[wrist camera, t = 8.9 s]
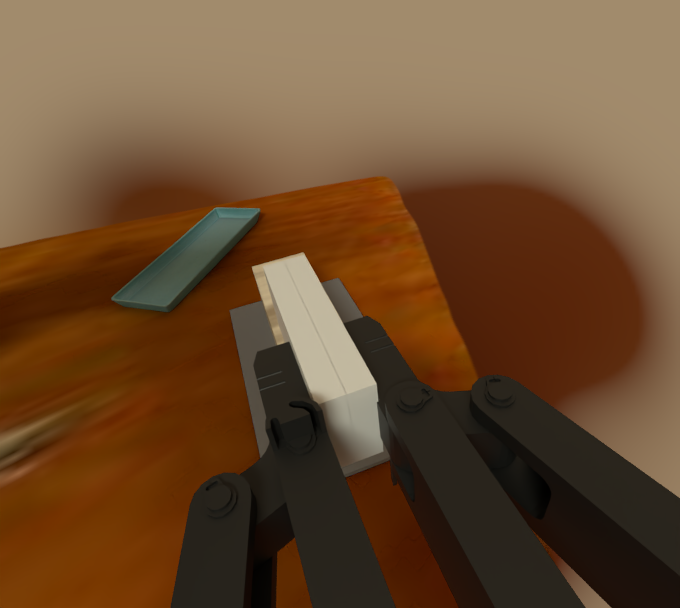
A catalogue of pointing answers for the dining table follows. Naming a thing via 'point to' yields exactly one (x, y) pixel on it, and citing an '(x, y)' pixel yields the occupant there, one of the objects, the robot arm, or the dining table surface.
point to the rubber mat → (258, 336)
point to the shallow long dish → (187, 260)
